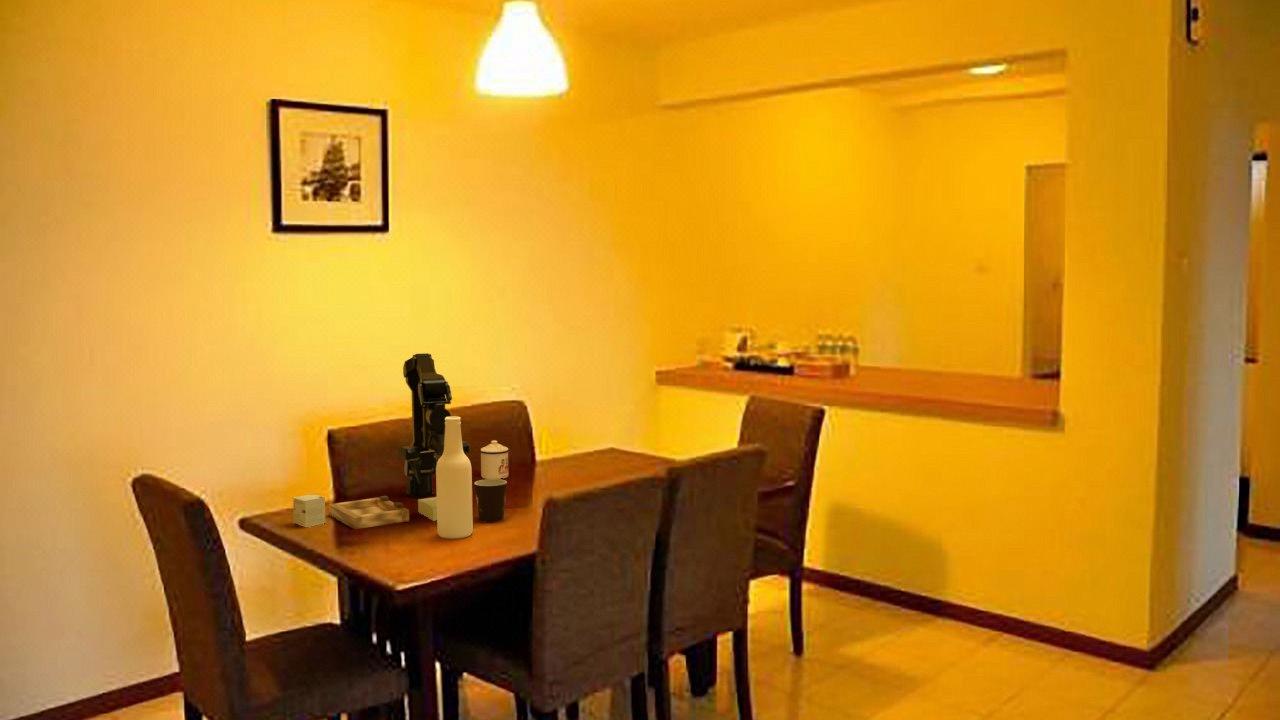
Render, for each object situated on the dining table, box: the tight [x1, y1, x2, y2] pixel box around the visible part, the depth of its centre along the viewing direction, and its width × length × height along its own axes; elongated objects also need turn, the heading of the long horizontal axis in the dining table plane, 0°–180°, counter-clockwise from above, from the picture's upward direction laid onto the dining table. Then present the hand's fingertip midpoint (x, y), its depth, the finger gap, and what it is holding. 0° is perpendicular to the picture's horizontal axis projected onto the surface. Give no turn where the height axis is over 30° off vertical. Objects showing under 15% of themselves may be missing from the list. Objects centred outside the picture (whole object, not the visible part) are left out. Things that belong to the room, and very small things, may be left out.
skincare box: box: [292, 493, 326, 528], centre depth 281 cm, size 6×6×7 cm
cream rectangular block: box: [417, 496, 437, 522], centre depth 290 cm, size 6×11×4 cm, turn 33°
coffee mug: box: [473, 479, 508, 523], centre depth 286 cm, size 12×9×10 cm
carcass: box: [328, 495, 410, 530], centre depth 287 cm, size 15×19×4 cm
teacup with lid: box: [479, 439, 510, 480], centre depth 342 cm, size 12×9×12 cm
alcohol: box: [435, 415, 474, 540], centre depth 268 cm, size 9×9×30 cm
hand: (435, 480), depth 290 cm, fingers open, 9 cm apart
